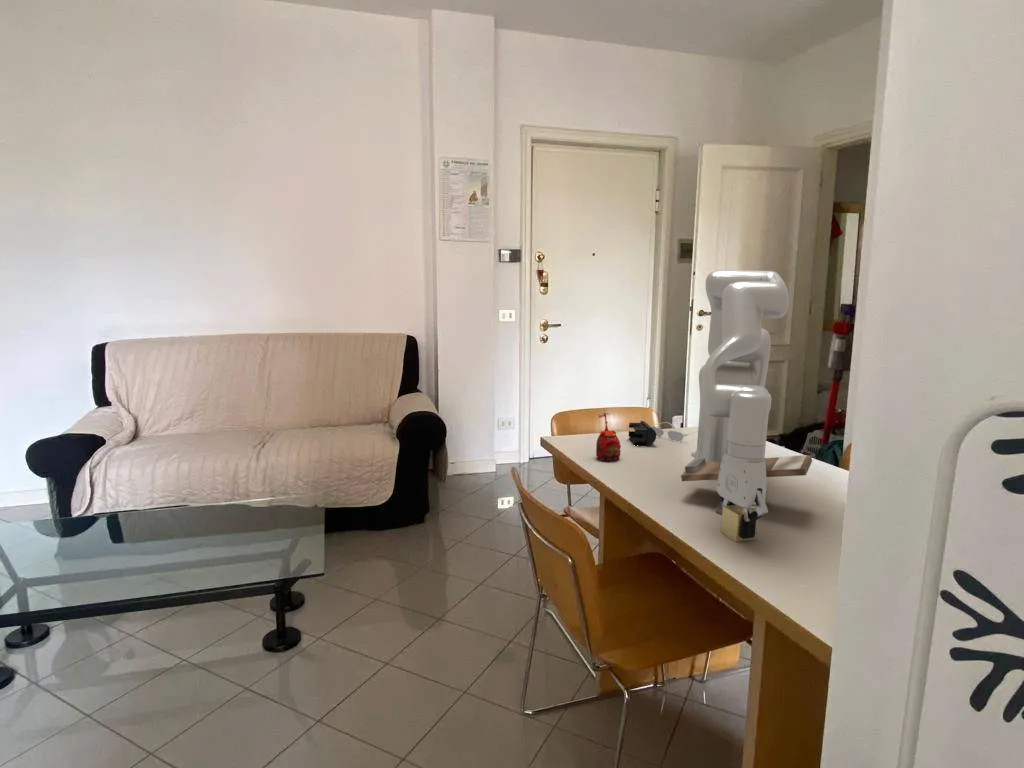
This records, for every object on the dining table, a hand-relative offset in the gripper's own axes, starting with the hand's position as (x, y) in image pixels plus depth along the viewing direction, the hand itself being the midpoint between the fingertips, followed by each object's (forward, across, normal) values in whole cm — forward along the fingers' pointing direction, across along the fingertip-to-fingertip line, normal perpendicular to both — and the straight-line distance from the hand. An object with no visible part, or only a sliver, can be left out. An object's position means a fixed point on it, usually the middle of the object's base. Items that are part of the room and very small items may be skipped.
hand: (738, 531), depth 127 cm
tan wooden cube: (+1, 0, 0) cm, 1 cm away
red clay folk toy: (+2, -59, -1) cm, 59 cm away
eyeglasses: (+2, -80, +38) cm, 88 cm away
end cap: (+2, -73, +19) cm, 75 cm away
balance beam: (-8, -16, +14) cm, 23 cm away
